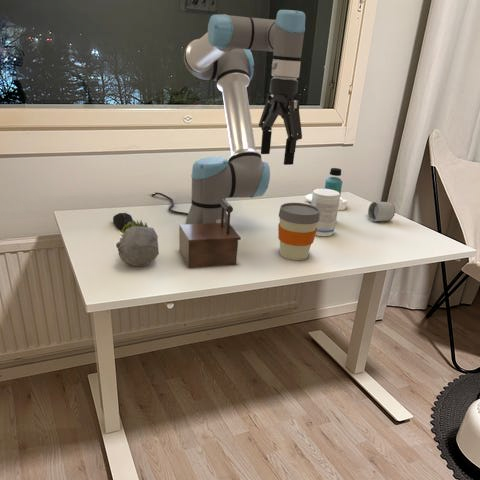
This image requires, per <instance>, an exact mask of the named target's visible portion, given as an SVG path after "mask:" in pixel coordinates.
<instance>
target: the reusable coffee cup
mask: <svg viewBox="0 0 480 480" xmlns="http://www.w3.org/2000/svg"><path fill="white" fill-rule="evenodd" d="M278 217H279V223H278V231H277V232H278V235H277V237H278V240H279V254H280V256H281V257H282V258H284V259H287V260H291V261H302V260H306V259H307V258H308V257H309V253H310V251H311V246H312V245H313V243H314V240H315V237H316V235H315V234H316V231H317V227H316V226H317V223H318V221H319V218H320V210H319V209H318V208H317V207H315V206H312V205H311V204H308V203H303V202H286V203H282V204H281V205H280V207H279V211H278Z"/></svg>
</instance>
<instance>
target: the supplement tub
mask: <svg viewBox="0 0 480 480" xmlns="http://www.w3.org/2000/svg"><path fill="white" fill-rule="evenodd" d="M312 193H313V194H312V201H311V202H310V205H312V206H315V207H317V208H318V209H319V210H320V218H319V221H318V223H317V226H316V227H317V231H316V234H315V236H317V237H330V236H332V235H334V233H335V230H336V223H337V217H338V212H339V210H338V206H339V198H340V196H341V195H340V194H341V193H339V192H338V191H335V190H331V189H325V188H315V189H313V191H312Z"/></svg>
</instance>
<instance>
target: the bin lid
mask: <svg viewBox="0 0 480 480" xmlns="http://www.w3.org/2000/svg"><path fill="white" fill-rule="evenodd" d="M220 205H221V206H222V209H221V223H210V224H187V225H186V224H179V228H180V229H181V230H182V232H183V234H184V235H185V237H186V239H187V240H188V242H189V243H192V242H210V241H229V240H238V241H241V240H242V237H241V236H240V235H239V233H238V232H237V231H236V230H235V229H234V227H233V226H231V213H233V212H234V208H233V206H232V205H231V204H230V203H229V202H228V201H227V200H225V199H221V200H220ZM224 209H225V210H226V212H227V223H224Z"/></svg>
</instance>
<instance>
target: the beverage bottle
mask: <svg viewBox="0 0 480 480" xmlns="http://www.w3.org/2000/svg"><path fill="white" fill-rule="evenodd" d="M329 170H330V171H329V175H330V176H329V177H327V178H326V179H325V182H324V184H325V185H324V189H331V190H335V191H338V192H339V193H340V196H341V195H342V186H343V180H342V179H341V178H340V176H342V169H341V168H337V167H331V168H330V169H329ZM339 199H340V198H339Z"/></svg>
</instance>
